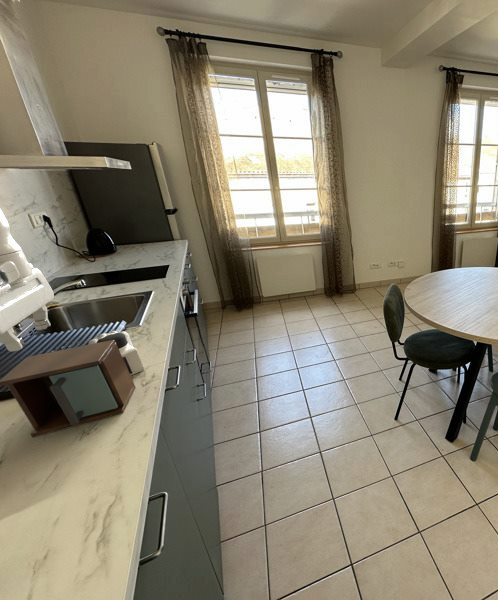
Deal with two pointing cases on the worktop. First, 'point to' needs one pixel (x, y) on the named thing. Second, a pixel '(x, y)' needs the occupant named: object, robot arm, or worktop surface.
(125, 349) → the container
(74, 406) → the sliding door
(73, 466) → the worktop surface
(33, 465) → the worktop surface
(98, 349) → the cupboard
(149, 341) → the worktop surface
